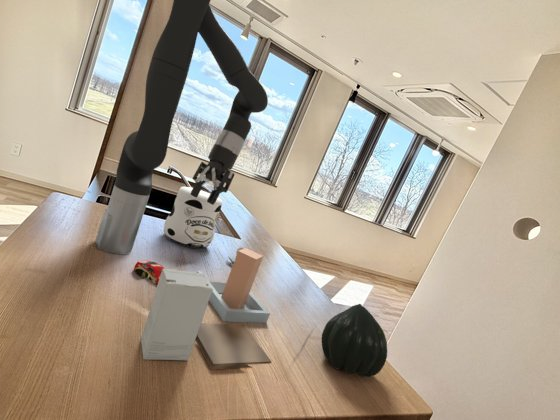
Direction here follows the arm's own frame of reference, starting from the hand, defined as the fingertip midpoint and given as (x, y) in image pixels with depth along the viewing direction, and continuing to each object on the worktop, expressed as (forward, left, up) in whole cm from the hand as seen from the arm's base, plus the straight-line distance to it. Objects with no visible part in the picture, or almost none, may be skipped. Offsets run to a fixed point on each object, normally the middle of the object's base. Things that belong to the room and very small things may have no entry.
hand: (201, 199), depth 104 cm
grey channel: (+7, -21, -20) cm, 30 cm away
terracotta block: (+7, -23, -19) cm, 31 cm away
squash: (+27, -46, -21) cm, 57 cm away
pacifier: (+23, +6, -21) cm, 31 cm away
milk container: (+9, +21, -21) cm, 31 cm away
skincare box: (-15, -40, -21) cm, 48 cm away
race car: (-10, -12, -21) cm, 26 cm away
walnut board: (-1, -39, -20) cm, 44 cm away
